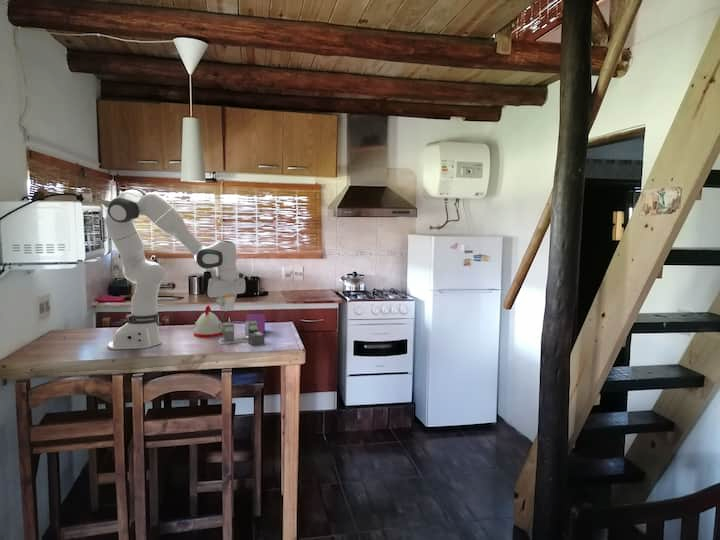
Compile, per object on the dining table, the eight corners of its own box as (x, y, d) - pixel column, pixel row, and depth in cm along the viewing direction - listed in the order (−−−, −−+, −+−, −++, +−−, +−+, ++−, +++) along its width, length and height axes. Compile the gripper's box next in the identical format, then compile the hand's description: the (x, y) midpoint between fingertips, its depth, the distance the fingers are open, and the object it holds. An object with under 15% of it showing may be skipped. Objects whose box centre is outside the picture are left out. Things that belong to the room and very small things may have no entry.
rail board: (220, 344, 227) (220, 325, 226) (217, 341, 233) (217, 323, 232) (262, 341, 235) (262, 322, 235) (258, 337, 242) (258, 320, 241)
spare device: (252, 346, 225) (252, 335, 225) (248, 344, 230) (248, 332, 229) (264, 344, 229) (264, 333, 228) (260, 342, 233) (260, 331, 233)
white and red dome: (190, 337, 240) (190, 307, 238) (198, 331, 253) (198, 303, 252) (218, 337, 240) (218, 308, 239) (225, 331, 254) (225, 303, 253)
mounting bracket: (263, 347, 246) (264, 326, 261) (263, 334, 242) (264, 313, 257) (244, 348, 244) (247, 326, 260) (244, 335, 240) (246, 313, 255)
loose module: (225, 311, 220) (225, 295, 220) (219, 310, 222) (219, 294, 222) (234, 309, 225) (234, 294, 224) (228, 308, 227) (228, 293, 226)
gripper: (213, 277, 212) (214, 308, 213) (247, 274, 229) (247, 302, 230) (204, 276, 215) (204, 307, 216) (238, 273, 232) (238, 301, 233)
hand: (227, 304), depth 223 cm, fingers closed on loose module, 5 cm apart
